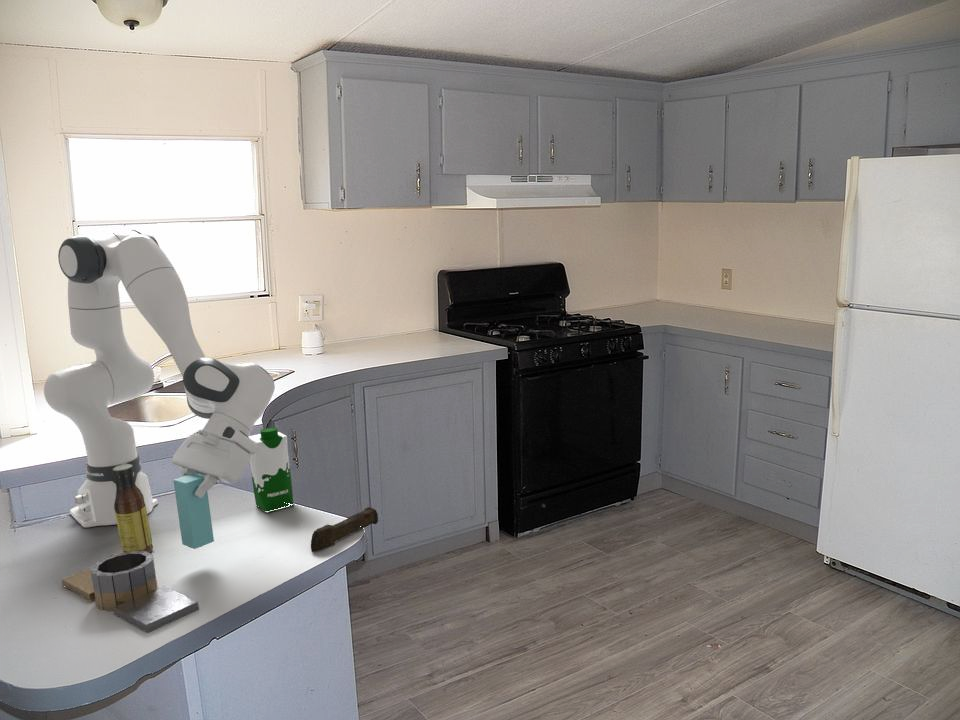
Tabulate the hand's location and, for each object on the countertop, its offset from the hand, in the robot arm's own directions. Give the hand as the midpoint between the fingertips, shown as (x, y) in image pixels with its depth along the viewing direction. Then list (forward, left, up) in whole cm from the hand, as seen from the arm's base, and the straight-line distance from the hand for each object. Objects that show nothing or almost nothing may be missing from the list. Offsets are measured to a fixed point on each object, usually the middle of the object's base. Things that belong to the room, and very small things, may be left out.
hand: (188, 493), depth 165 cm
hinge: (0, -15, -16) cm, 22 cm away
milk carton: (-16, +31, -16) cm, 38 cm away
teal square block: (0, +1, -11) cm, 11 cm away
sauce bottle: (-19, -3, -16) cm, 25 cm away
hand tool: (+15, +27, -16) cm, 35 cm away
